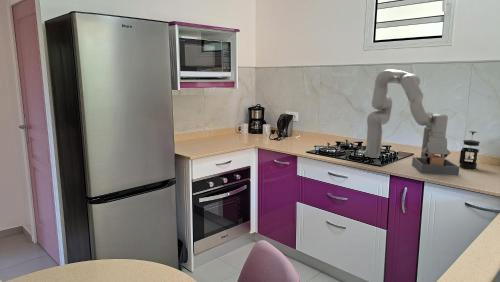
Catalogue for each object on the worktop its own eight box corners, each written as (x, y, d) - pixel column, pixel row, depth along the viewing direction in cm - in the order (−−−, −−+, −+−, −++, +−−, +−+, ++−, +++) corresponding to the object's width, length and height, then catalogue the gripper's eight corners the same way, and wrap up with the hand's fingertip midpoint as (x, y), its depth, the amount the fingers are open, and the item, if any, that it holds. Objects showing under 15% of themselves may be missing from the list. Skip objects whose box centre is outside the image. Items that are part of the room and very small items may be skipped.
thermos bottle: (436, 162, 233) (441, 120, 228) (426, 162, 231) (431, 120, 226) (427, 159, 241) (432, 118, 236) (417, 159, 239) (422, 118, 234)
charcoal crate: (421, 173, 205) (422, 164, 204) (411, 164, 225) (412, 157, 224) (458, 175, 202) (459, 167, 201) (445, 167, 221) (446, 159, 220)
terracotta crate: (430, 167, 209) (432, 157, 208) (426, 163, 218) (427, 154, 217) (442, 168, 208) (444, 158, 207) (437, 164, 217) (438, 155, 216)
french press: (468, 165, 227) (473, 130, 223) (481, 169, 218) (486, 132, 214) (453, 166, 224) (458, 130, 220) (465, 170, 215) (471, 132, 211)
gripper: (424, 135, 207) (420, 164, 211) (456, 136, 204) (452, 167, 208) (420, 133, 215) (417, 161, 218) (451, 134, 212) (447, 164, 215)
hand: (434, 164), depth 213 cm, fingers closed on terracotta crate, 6 cm apart
